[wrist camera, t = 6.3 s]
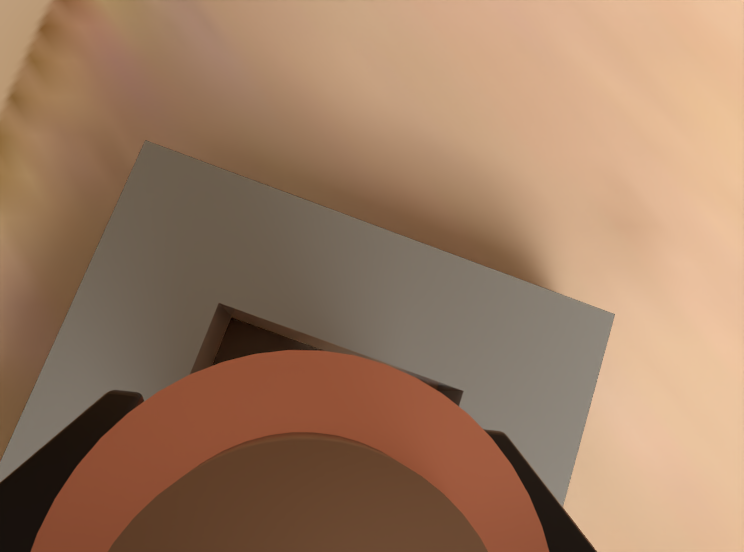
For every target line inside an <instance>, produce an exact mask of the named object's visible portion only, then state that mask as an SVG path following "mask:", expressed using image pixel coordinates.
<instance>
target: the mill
mask: <svg viewBox="0 0 744 552" xmlns="http://www.w3.org/2000/svg"><path fill="white" fill-rule="evenodd" d="M31 552H549V549H548V545H547V542H546V538H545V535H544V531H543V528H542V525H541V523H540V520H539V518H538V515H537V513H536V511H535V508H534V506H533V503H532V501H531V499H530V496H529V494H528V492H527V491H526V489H525V487H524V485H523V484H522V482H521V480H520V478H519V477H518V475H517V473H516V471H515V470H514V468H513V466H512V464H511V463H510V462H509V460H508V459H507V458H506V456H505V455H504V454H503V452H502V451H501V450H500V448H499V447H498V446H497V444H496V443H495V442H494V440H493V439H492V438H491V437H490V436H489V435H488V434H487V433H486V432H485V431H484V430H483V429H482V428H481V427H480V426H479V424H478V423H477V422H476V421H475V420H474V419H473V418H472V417H471V416H470V415H469V414H468V413H466V412H465V411H464V410H463V409H461V408H460V407H459V406H458V405H456V404H455V403H454V402H453V401H451V400H450V399H449V398H447V397H446V396H445V395H444V394H442V393H441V392H439V391H437V390H436V389H434V388H432V387H431V386H429V385H427V384H426V383H424V382H422V381H421V380H419V379H417V378H416V377H414V376H411V375H409V374H407V373H404V372H402V371H400V370H397V369H395V368H393V367H391V366H388V365H386V364H383V363H379V362H376V361H372V360H369V359H365V358H362V357H358V356H355V355H349V354H342V353H335V352H329V351H322V350H284V351H275V352H267V353H258V354H252V355H248V356H244V357H240V358H236V359H232V360H228V361H224V362H221V363H218V364H216V365H213V366H211V367H208V368H205V369H203V370H200V371H198V372H195V373H192V374H190V375H188V376H186V377H184V378H182V379H181V380H179V381H177V382H175V383H173V384H171V385H169V386H168V387H166V388H164V389H162V390H160V391H158V392H157V393H155V394H154V395H153V396H151V397H150V398H148V399H147V400H146V401H144V402H143V403H141V404H140V405H139V406H137V407H136V408H134V409H133V410H132V411H130V412H129V413H128V414H127V415H125V416H124V417H123V418H122V419H121V420H120V421H119V422H118V423H117V424H116V425H115V426H113V427H112V428H111V429H110V430H109V431H108V432H107V433H106V434H105V435H104V436H102V437H101V438H100V440H99V441H98V442H97V443H96V444H95V445H94V447H93V448H92V449H91V450H90V451H89V452H88V454H87V455H86V456H85V457H84V458H83V459H82V461H81V462H80V463H79V464H78V465H77V466H76V468H75V469H74V471H73V472H72V474H71V475H70V477H69V478H68V480H67V481H66V483H65V484H64V486H63V487H62V489H61V490H60V492H59V493H58V495H57V496H56V498H55V500H54V502H53V504H52V506H51V508H50V509H49V511H48V513H47V515H46V517H45V519H44V521H43V523H42V525H41V527H40V529H39V531H38V533H37V536H36V539H35V541H34V544H33V547H32V550H31Z"/></svg>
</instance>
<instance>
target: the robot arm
mask: <svg viewBox="0 0 744 552" xmlns="http://www.w3.org/2000/svg"><path fill="white" fill-rule="evenodd" d="M143 402H144V398H143V396H142V394H140V393H138V392H131V391H122V390H111V391H109V392H107V393H106V394H104V395H103V396H102V397H101V398H100V399H98V400H97V401H96V402H95V403H94V404H92V405H91V406H90V407H89V408H88V409H86V410H85V411H84V412H83V413H82V414H81V415H79V416H78V417H77V418H76V419H75V420H73V421H72V422H71V423H70V424H69V425H67V426H66V427H65V428H64V429H63V430H62V431H60V432H59V433H58V434H57V435H56V436H54V437H53V438H52V439H51V440H50V441H48V442H47V443H46V444H45V445H44V446H43V447H41V448H40V449H39V450H38V451H37V452H35V453H34V454H33V455H32V456H31V457H30V458H28V459H27V460H26V461H25V462H24V463H22V464H21V465H20V466H19V467H18V468H16V469H15V470H14V471H13V472H12V473H11V474H9V475H8V476H7V477H6V478H5V479H3V480H2V481H1V482H0V552H31V550H32V547H33V544H34V541H35V539H36V536H37V533H38V531H39V529H40V527H41V525H42V523H43V521H44V519H45V517H46V515H47V513H48V511H49V509H50V508H51V506H52V504H53V502H54V500H55V498H56V496H57V495H58V493H59V492H60V490H61V489H62V487H63V486H64V484H65V483H66V481H67V480H68V478H69V477H70V475H71V474H72V472H73V471H74V469H75V468H76V466H77V465H78V464H79V463H80V462H81V461H82V459H83V458H84V457H85V456H86V455H87V454H88V452H89V451H90V450H91V449H92V448H93V447H94V445H95V444H96V443H97V442H98V441H99V440H100V438H101V437H102V436H104V435H105V434H106V433H107V432H108V431H109V430H110V429H111V428H112V427H113V426H115V425H116V424H117V423H118V422H119V421H120V420H121V419H122V418H123V417H124V416H125V415H127V414H128V413H129V412H130V411H132V410H133V409H134V408H136V407H137V406H139V405H140V404H141V403H143ZM483 430H484V431H485V432H486V433H487V434H488V435H489V436H490V437H491V438H492V439H493V440H494V442H495V443H496V444H497V446H498V447H499V448H500V450H501V451H502V452H503V454H504V455H505V456H506V458H507V459H508V460H509V462H510V463H511V464H512V466H513V468H514V470H515V471H516V473H517V475H518V477H519V478H520V480H521V482H522V484H523V485H524V487H525V489H526V491H527V492H528V494H529V496H530V499H531V501H532V503H533V506H534V508H535V511H536V513H537V515H538V518H539V520H540V523H541V525H542V528H543V531H544V535H545V538H546V542H547V545H548V549H549V552H597V551H596V550H595V548H594V547H593V546H592V545H591V543H590V542H589V541H588V539H587V538H586V537H585V535H584V534H583V533H582V532H581V530H580V529H579V528H578V526H577V525H576V524H575V523H574V521H573V520H572V519H571V517H570V516H569V515H568V513H567V512H566V511H565V510H564V508H563V507H562V506H561V504H560V503H559V502H558V501H557V499H556V498H555V497H554V495H553V494H552V493H551V491H550V490H549V489H548V488H547V486H546V485H545V484H544V482H543V481H542V480H541V479H540V477H539V476H538V475H537V473H536V472H535V471H534V469H533V468H532V467H531V466H530V464H529V463H528V462H527V460H526V459H525V458H524V457H523V455H522V454H521V453H520V451H519V450H518V449H517V447H516V446H515V445H514V444H513V442H512V441H511V440H510V438H509V437H508V436H507V435H506V434H505V433H504V432H502V431H496V430H486V429H483Z"/></svg>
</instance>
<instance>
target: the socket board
mask: <svg viewBox="0 0 744 552" xmlns="http://www.w3.org/2000/svg"><path fill="white" fill-rule="evenodd" d="M614 316H615V314H613V313H610V312H607V311H605V310H602V309H599V308H597V307H594V306H591V305H589V304H586V303H583V302H580V301H578V300H575V299H572V298H570V297H567V296H564V295H562V294H559V293H556V292H554V291H551V290H548V289H545V288H543V287H540V286H537V285H535V284H532V283H529V282H527V281H524V280H521V279H518V278H516V277H513V276H510V275H508V274H505V273H502V272H500V271H497V270H494V269H492V268H489V267H486V266H483V265H481V264H478V263H475V262H473V261H470V260H467V259H465V258H462V257H459V256H456V255H454V254H451V253H448V252H446V251H443V250H440V249H438V248H435V247H432V246H429V245H427V244H424V243H421V242H419V241H416V240H413V239H411V238H408V237H405V236H403V235H400V234H397V233H394V232H392V231H389V230H386V229H384V228H381V227H378V226H376V225H373V224H370V223H367V222H365V221H362V220H359V219H357V218H354V217H351V216H349V215H346V214H343V213H341V212H338V211H335V210H332V209H330V208H327V207H324V206H322V205H319V204H316V203H314V202H311V201H308V200H305V199H303V198H300V197H297V196H295V195H292V194H289V193H287V192H284V191H281V190H279V189H276V188H273V187H270V186H268V185H265V184H262V183H260V182H257V181H254V180H252V179H249V178H246V177H243V176H241V175H238V174H235V173H233V172H230V171H227V170H225V169H222V168H219V167H216V166H214V165H211V164H208V163H206V162H203V161H200V160H198V159H195V158H192V157H190V156H187V155H184V154H181V153H179V152H176V151H173V150H171V149H168V148H165V147H163V146H160V145H157V144H154V143H152V142H149V141H146V140H145V142H144V144H143V146H142V149H141V151H140V153H139V155H138V158H137V160H136V162H135V164H134V166H133V169H132V171H131V173H130V175H129V177H128V180H127V182H126V184H125V186H124V189H123V191H122V193H121V195H120V197H119V200H118V202H117V204H116V206H115V209H114V211H113V213H112V215H111V217H110V220H109V222H108V224H107V226H106V228H105V231H104V233H103V235H102V237H101V240H100V242H99V244H98V246H97V248H96V251H95V253H94V255H93V257H92V259H91V262H90V264H89V266H88V268H87V271H86V273H85V275H84V277H83V279H82V282H81V284H80V286H79V288H78V291H77V293H76V295H75V297H74V299H73V302H72V304H71V306H70V308H69V310H68V313H67V315H66V317H65V319H64V322H63V324H62V326H61V328H60V330H59V333H58V335H57V337H56V339H55V342H54V344H53V346H52V348H51V350H50V353H49V355H48V357H47V359H46V361H45V364H44V366H43V368H42V370H41V373H40V375H39V377H38V379H37V381H36V384H35V386H34V388H33V390H32V392H31V395H30V397H29V399H28V401H27V404H26V406H25V408H24V410H23V412H22V415H21V417H20V419H19V421H18V424H17V426H16V428H15V430H14V432H13V435H12V437H11V439H10V441H9V443H8V446H7V448H6V450H5V452H4V455H3V457H2V459H1V461H0V482H1V481H2V480H3V479H5V478H6V477H7V476H8V475H9V474H11V473H12V472H13V471H14V470H15V469H16V468H18V467H19V466H20V465H21V464H22V463H24V462H25V461H26V460H27V459H28V458H30V457H31V456H32V455H33V454H34V453H35V452H37V451H38V450H39V449H40V448H41V447H43V446H44V445H45V444H46V443H47V442H48V441H50V440H51V439H52V438H53V437H54V436H56V435H57V434H58V433H59V432H60V431H62V430H63V429H64V428H65V427H66V426H67V425H69V424H70V423H71V422H72V421H73V420H75V419H76V418H77V417H78V416H79V415H81V414H82V413H83V412H84V411H85V410H86V409H88V408H89V407H90V406H91V405H92V404H94V403H95V402H96V401H97V400H98V399H100V398H101V397H102V396H103V395H104V394H106V393H107V392H109V391H111V390H122V391H131V392H138V393H140V394H142V396H143V398H144V401H146V400H147V399H148V398H150V397H151V396H153V395H154V394H155V393H157V392H158V391H160V390H162V389H164V388H166V387H168V386H169V385H171V384H173V383H175V382H177V381H179V380H181V379H182V378H184V377H186V376H188V375H190V374H192V373H195V372H198V371H200V370H203V369H205V368H208V367H211V366H212V365H213V362H214V360H215V357H216V354H217V352H218V349H219V347H220V344H221V342H222V339H223V337H224V334H225V332H226V329H227V327H228V324H229V322H230V319H231V317H232V318H235V319H237V320H240V321H243V322H246V323H248V324H251V325H254V326H257V327H260V328H262V329H265V330H268V331H271V332H274V333H276V334H279V335H282V336H285V337H287V338H290V339H293V340H296V341H299V342H301V343H304V344H307V345H310V346H313V347H315V348H318V349H321V350H324V351H329V352H335V353H342V354H349V355H355V356H358V357H362V358H365V359H369V360H372V361H376V362H379V363H383V364H386V365H388V366H391V367H393V368H395V369H397V370H400V371H402V372H404V373H407V374H409V375H411V376H414V377H416V378H417V379H419V380H421V381H422V382H424V383H426V384H427V385H429V386H431V387H432V388H434V389H436V390H437V391H439V392H441V393H442V394H444V395H445V396H446V397H447V398H449V399H450V400H451V401H453V402H454V403H455V404H456V405H458V406H459V407H460V408H461V409H463V410H464V411H465V412H466V413H468V414H469V415H470V416H471V417H472V418H473V419H474V420H475V421H476V422H477V423H478V424H479V426H480V427H481V428H482V429H486V430H496V431H502V432H504V433H505V434H506V435H507V436H508V437H509V438H510V440H511V441H512V442H513V444H514V445H515V446H516V447H517V449H518V450H519V451H520V453H521V454H522V455H523V457H524V458H525V459H526V460H527V462H528V463H529V464H530V466H531V467H532V468H533V469H534V471H535V472H536V473H537V475H538V476H539V477H540V479H541V480H542V481H543V482H544V484H545V485H546V486H547V488H548V489H549V490H550V491H551V493H552V494H553V495H554V497H555V498H556V499H557V501H558V502H559V503H560V504H561V506H562V507H563V504H564V501H565V497H566V493H567V490H568V486H569V482H570V479H571V475H572V471H573V467H574V464H575V460H576V456H577V453H578V449H579V445H580V442H581V438H582V434H583V430H584V427H585V423H586V419H587V416H588V412H589V408H590V405H591V401H592V397H593V393H594V390H595V386H596V382H597V379H598V375H599V371H600V368H601V364H602V360H603V356H604V353H605V349H606V345H607V342H608V338H609V334H610V331H611V327H612V323H613V319H614Z"/></svg>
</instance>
